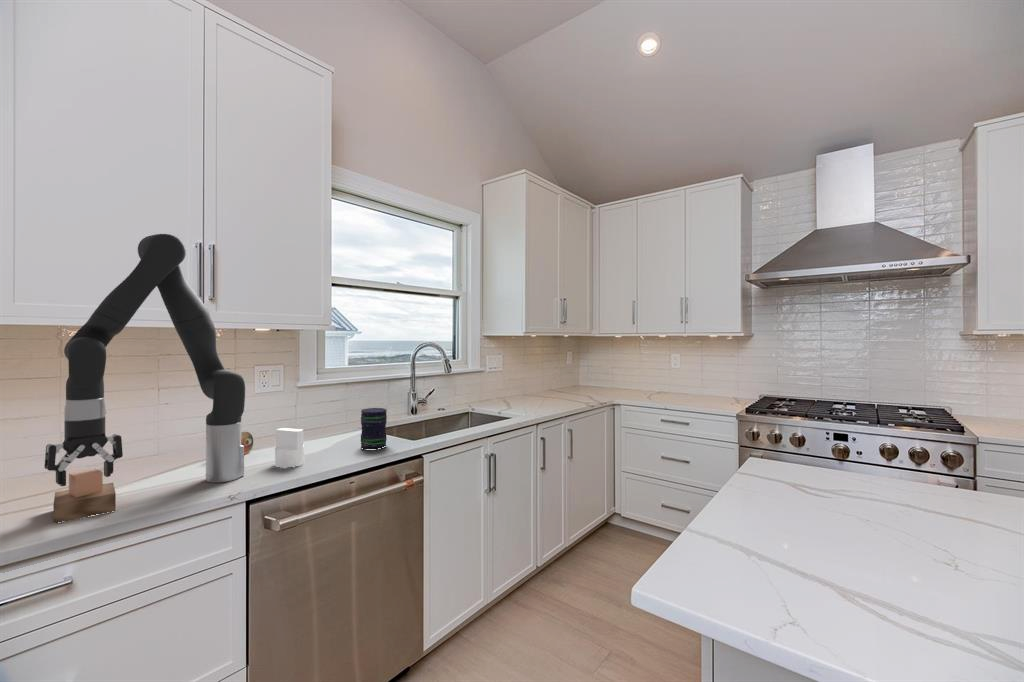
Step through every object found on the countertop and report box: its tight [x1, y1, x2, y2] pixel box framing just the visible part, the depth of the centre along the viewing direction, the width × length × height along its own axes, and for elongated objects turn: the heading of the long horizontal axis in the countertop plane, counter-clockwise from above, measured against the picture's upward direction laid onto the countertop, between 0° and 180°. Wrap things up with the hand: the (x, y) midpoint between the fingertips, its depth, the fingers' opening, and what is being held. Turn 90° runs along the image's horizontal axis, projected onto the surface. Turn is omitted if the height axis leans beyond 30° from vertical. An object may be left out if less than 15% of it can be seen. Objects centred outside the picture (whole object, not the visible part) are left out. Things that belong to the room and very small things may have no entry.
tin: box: [241, 431, 254, 455], centre depth 165 cm, size 15×3×8 cm, turn 168°
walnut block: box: [52, 482, 117, 524], centre depth 115 cm, size 11×11×5 cm
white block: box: [274, 427, 305, 469], centre depth 157 cm, size 9×9×12 cm
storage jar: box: [360, 407, 388, 449], centre depth 181 cm, size 10×10×15 cm
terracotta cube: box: [68, 468, 104, 497], centre depth 115 cm, size 5×5×5 cm
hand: (85, 480), depth 115 cm, fingers open, 8 cm apart
